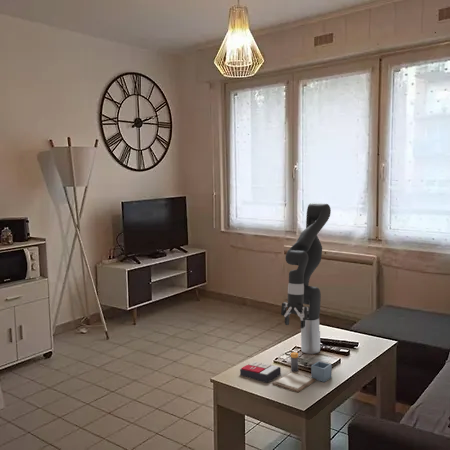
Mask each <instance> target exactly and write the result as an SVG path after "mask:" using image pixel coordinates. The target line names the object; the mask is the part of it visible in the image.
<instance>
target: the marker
mask: <svg viewBox="0 0 450 450" xmlns="http://www.w3.org/2000/svg"><path fill="white" fill-rule="evenodd" d="M290 372H293V373H297V372H299V353H298V352H295V351H293V352H291V353H290Z"/></svg>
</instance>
